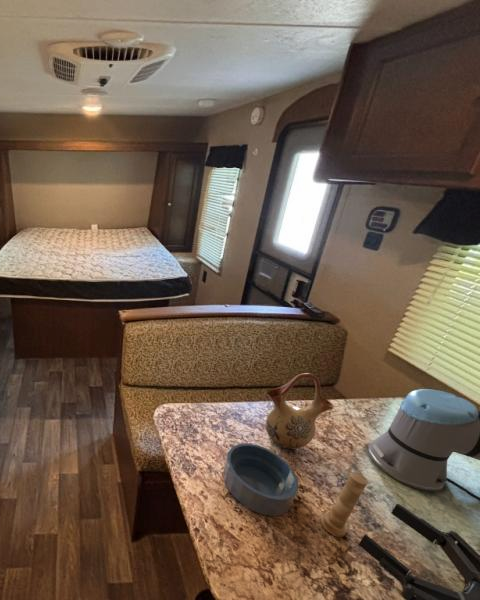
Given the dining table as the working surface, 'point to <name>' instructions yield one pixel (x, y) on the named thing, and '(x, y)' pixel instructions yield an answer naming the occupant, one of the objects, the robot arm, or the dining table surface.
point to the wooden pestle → (344, 505)
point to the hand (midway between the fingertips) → (378, 522)
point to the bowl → (260, 479)
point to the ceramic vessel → (294, 416)
